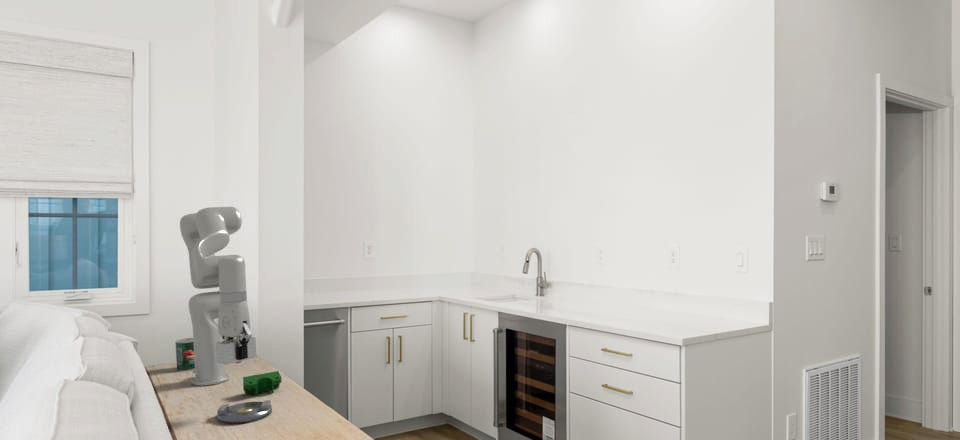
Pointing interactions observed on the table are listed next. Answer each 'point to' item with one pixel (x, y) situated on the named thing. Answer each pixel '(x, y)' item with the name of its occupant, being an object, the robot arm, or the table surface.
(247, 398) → the table surface
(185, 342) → the canned tomato
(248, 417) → the shallow grey dish
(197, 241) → the robot arm
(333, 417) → the table surface
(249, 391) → the clamp
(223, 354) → the striped grey block
